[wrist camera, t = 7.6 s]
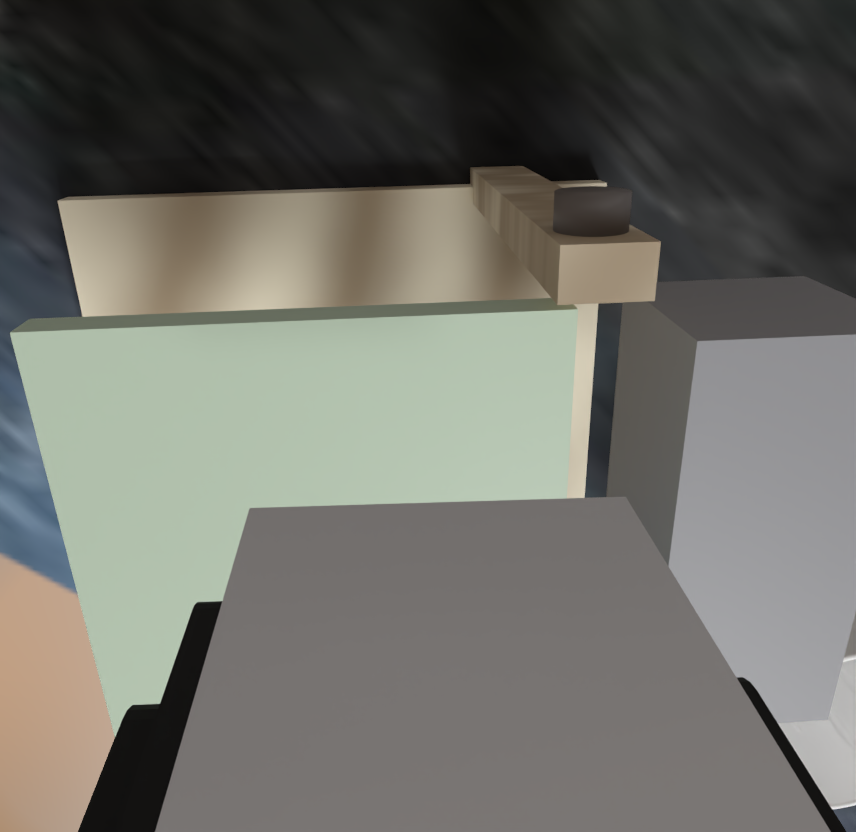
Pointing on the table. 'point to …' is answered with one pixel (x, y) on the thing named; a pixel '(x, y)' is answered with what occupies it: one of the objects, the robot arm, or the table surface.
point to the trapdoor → (461, 451)
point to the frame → (371, 254)
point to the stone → (469, 682)
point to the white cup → (832, 738)
